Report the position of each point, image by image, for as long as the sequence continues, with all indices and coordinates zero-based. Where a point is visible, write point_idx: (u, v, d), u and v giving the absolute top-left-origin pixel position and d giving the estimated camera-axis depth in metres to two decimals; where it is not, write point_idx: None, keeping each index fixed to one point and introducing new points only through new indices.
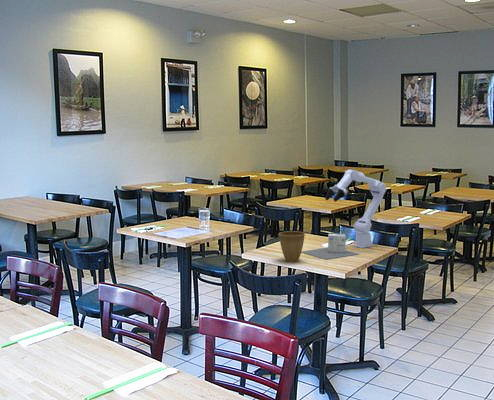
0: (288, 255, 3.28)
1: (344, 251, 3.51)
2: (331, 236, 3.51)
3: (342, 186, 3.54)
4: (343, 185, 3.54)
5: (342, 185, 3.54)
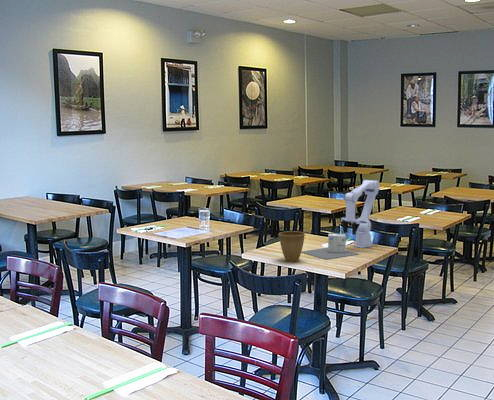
0: (288, 255, 3.28)
1: (344, 251, 3.51)
2: (331, 236, 3.51)
3: (351, 216, 3.55)
4: (352, 215, 3.55)
5: (351, 216, 3.55)
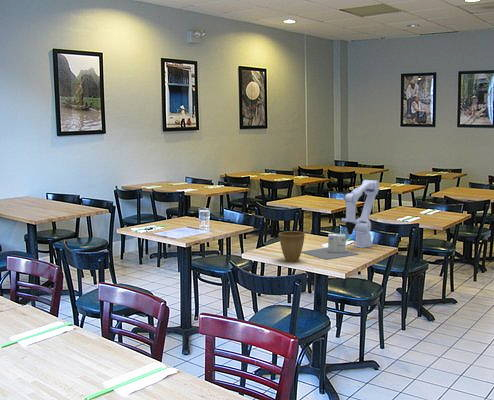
0: (288, 255, 3.28)
1: (344, 251, 3.51)
2: (331, 236, 3.51)
3: (352, 217, 3.56)
4: (352, 216, 3.55)
5: (351, 216, 3.55)
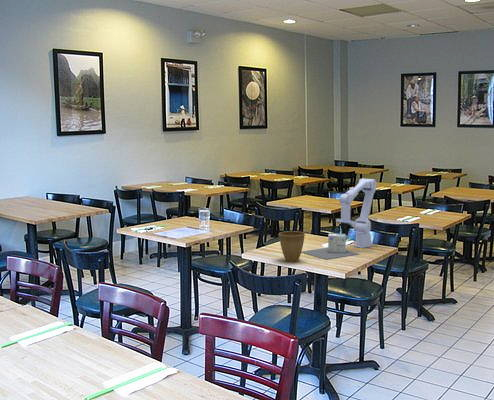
0: (288, 255, 3.28)
1: (344, 251, 3.51)
2: (331, 236, 3.50)
3: (347, 218, 3.53)
4: (347, 216, 3.53)
5: (346, 217, 3.53)
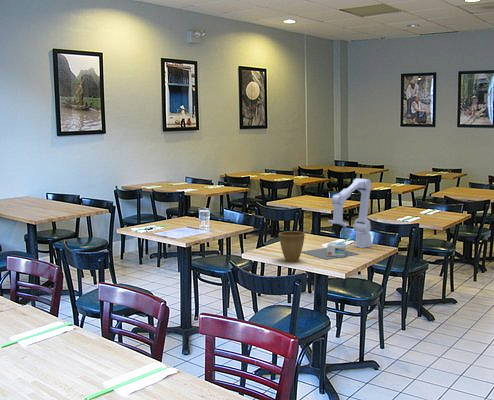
0: (288, 255, 3.28)
1: None
2: (329, 255, 3.42)
3: (339, 219, 3.50)
4: (339, 217, 3.50)
5: (338, 218, 3.50)
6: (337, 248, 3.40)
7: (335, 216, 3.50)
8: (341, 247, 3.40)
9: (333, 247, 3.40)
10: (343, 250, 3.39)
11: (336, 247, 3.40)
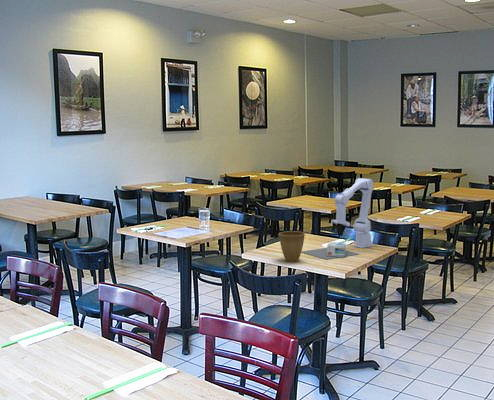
0: (288, 255, 3.28)
1: None
2: (329, 255, 3.42)
3: (342, 219, 3.51)
4: (342, 217, 3.51)
5: (341, 218, 3.51)
6: (337, 248, 3.40)
7: (338, 216, 3.52)
8: (341, 247, 3.40)
9: (333, 247, 3.40)
10: (343, 250, 3.39)
11: (336, 247, 3.40)
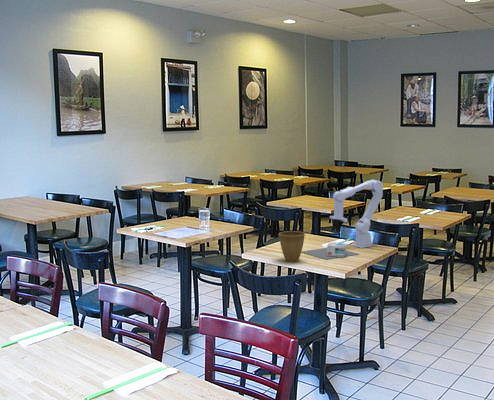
0: (288, 255, 3.28)
1: None
2: (329, 255, 3.42)
3: (339, 215, 3.63)
4: (340, 213, 3.63)
5: (339, 214, 3.63)
6: (337, 248, 3.40)
7: (336, 212, 3.64)
8: (341, 247, 3.40)
9: (333, 247, 3.40)
10: (343, 250, 3.39)
11: (336, 247, 3.40)
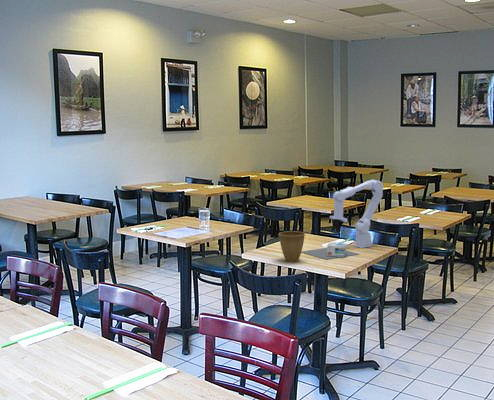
0: (288, 255, 3.28)
1: None
2: (329, 255, 3.42)
3: (339, 215, 3.63)
4: (340, 213, 3.63)
5: (339, 214, 3.63)
6: (337, 248, 3.40)
7: (336, 212, 3.64)
8: (341, 247, 3.40)
9: (333, 247, 3.40)
10: (343, 250, 3.39)
11: (336, 247, 3.40)
